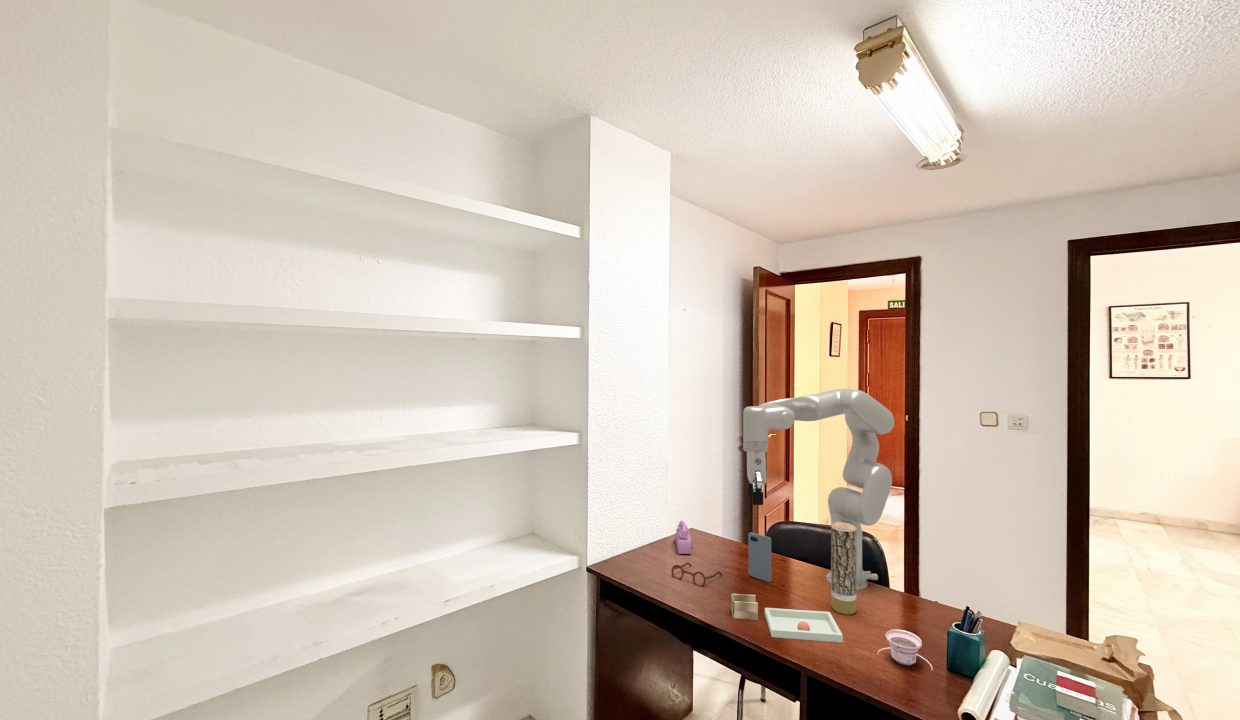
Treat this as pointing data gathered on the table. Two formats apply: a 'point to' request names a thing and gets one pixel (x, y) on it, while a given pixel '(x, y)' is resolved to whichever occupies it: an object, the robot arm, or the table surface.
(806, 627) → the ball
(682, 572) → the glasses
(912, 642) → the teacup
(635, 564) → the table surface
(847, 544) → the paper tube
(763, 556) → the smartphone
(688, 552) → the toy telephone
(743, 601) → the beige open holder
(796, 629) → the tray
